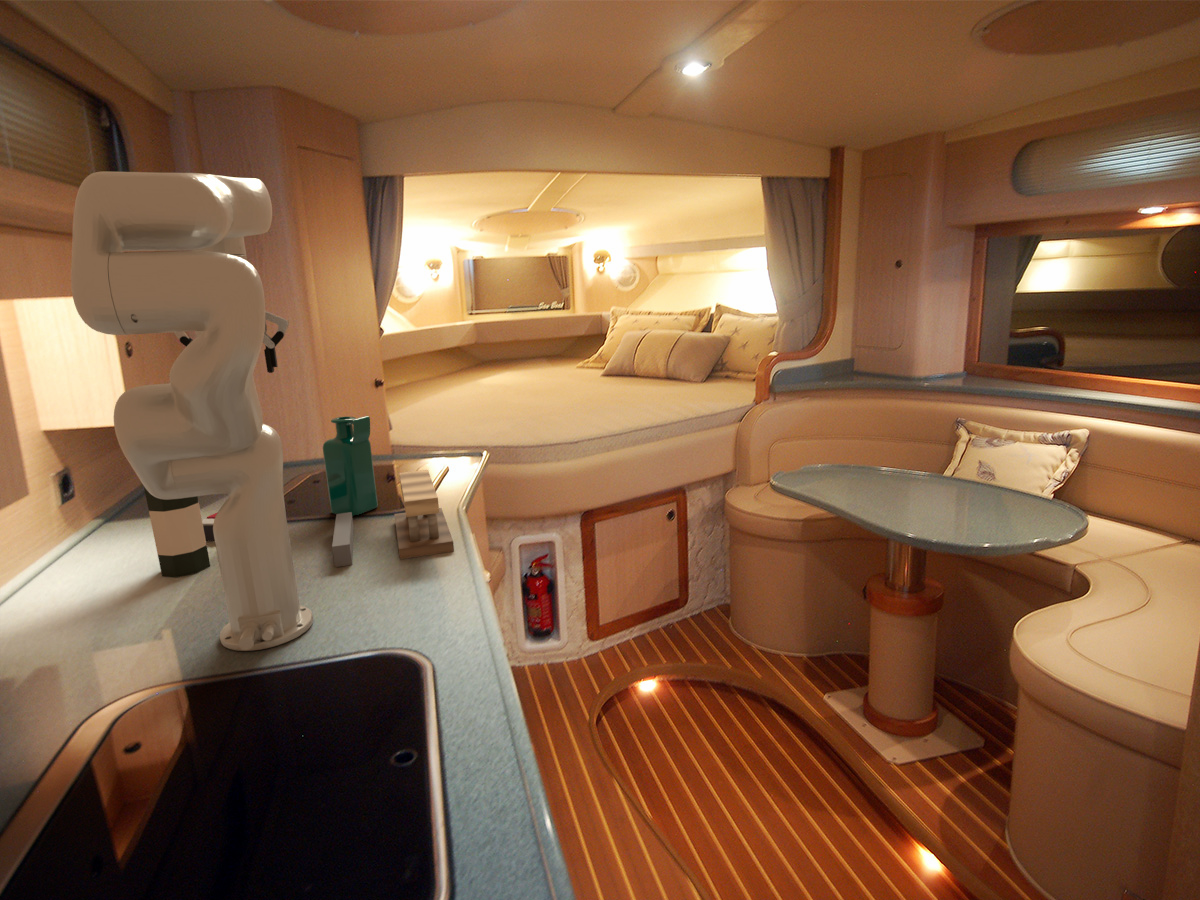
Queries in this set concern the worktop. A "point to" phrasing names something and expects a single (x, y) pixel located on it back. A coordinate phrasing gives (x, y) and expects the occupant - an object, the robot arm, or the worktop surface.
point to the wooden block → (418, 493)
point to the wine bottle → (178, 535)
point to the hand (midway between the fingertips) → (239, 374)
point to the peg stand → (423, 535)
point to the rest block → (343, 539)
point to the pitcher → (350, 467)
